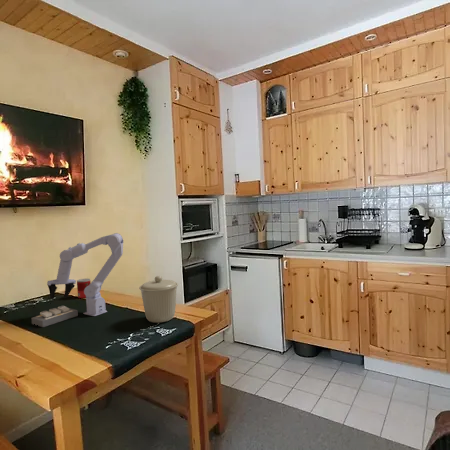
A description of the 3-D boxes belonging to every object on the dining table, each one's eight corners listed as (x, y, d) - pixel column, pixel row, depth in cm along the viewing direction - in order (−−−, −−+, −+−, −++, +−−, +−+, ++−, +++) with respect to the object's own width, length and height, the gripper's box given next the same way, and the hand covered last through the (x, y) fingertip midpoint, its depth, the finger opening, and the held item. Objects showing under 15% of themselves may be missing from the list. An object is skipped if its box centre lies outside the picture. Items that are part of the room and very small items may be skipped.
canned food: (88, 298, 206) (87, 280, 206) (75, 299, 206) (74, 281, 206) (93, 295, 214) (92, 278, 213) (81, 295, 214) (80, 278, 213)
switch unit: (77, 315, 172) (77, 309, 172) (42, 327, 157) (42, 320, 157) (66, 313, 178) (66, 307, 178) (31, 323, 163) (31, 317, 162)
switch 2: (60, 313, 167) (60, 310, 167) (54, 314, 165) (55, 312, 164) (54, 309, 170) (54, 307, 170) (49, 311, 167) (49, 309, 167)
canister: (163, 311, 173) (160, 270, 172) (187, 317, 162) (185, 274, 161) (133, 321, 159) (130, 277, 158) (158, 328, 148) (155, 281, 147)
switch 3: (69, 310, 171) (69, 308, 171) (63, 312, 168) (63, 309, 168) (63, 307, 174) (63, 305, 173) (57, 309, 171) (57, 306, 171)
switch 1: (51, 315, 163) (52, 313, 163) (45, 317, 161) (45, 315, 161) (46, 312, 166) (46, 310, 166) (40, 314, 164) (40, 312, 163)
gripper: (72, 270, 182) (67, 294, 182) (46, 270, 169) (41, 296, 170) (80, 273, 178) (74, 298, 178) (53, 274, 166) (48, 300, 166)
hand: (58, 297), depth 174 cm, fingers open, 7 cm apart
